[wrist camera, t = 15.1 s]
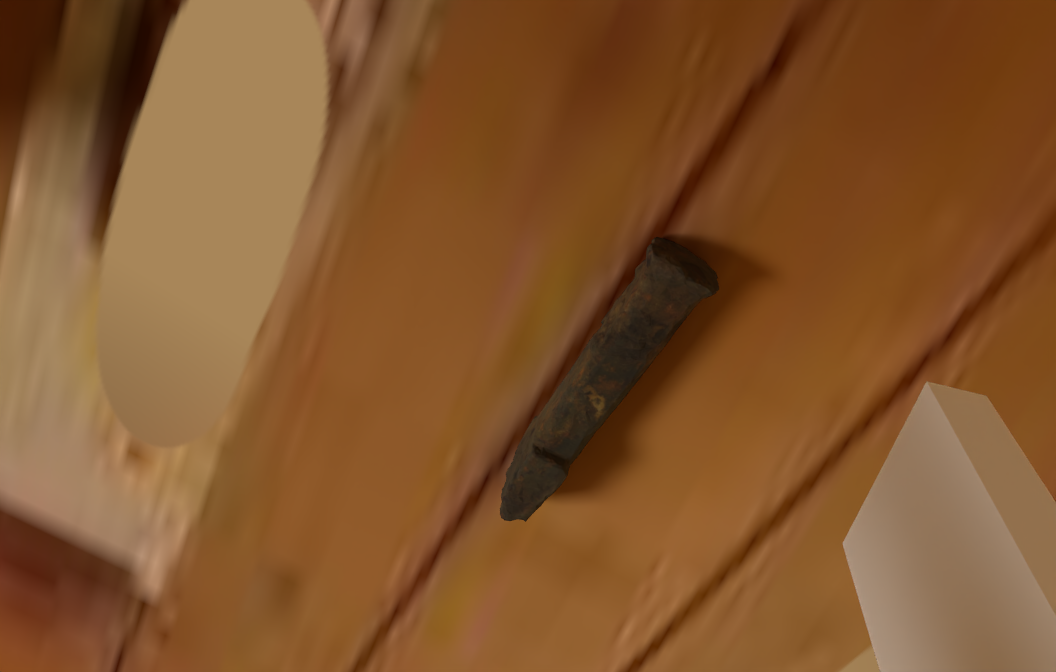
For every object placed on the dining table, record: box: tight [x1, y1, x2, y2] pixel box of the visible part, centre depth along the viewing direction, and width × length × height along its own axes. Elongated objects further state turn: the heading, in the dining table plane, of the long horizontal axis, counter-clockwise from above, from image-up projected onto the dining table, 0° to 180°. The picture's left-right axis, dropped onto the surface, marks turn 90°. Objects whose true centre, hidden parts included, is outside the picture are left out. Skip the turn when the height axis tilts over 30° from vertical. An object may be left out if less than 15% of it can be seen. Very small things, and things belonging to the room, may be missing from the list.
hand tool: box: [500, 237, 719, 522], centre depth 46 cm, size 19×4×5 cm, turn 148°
